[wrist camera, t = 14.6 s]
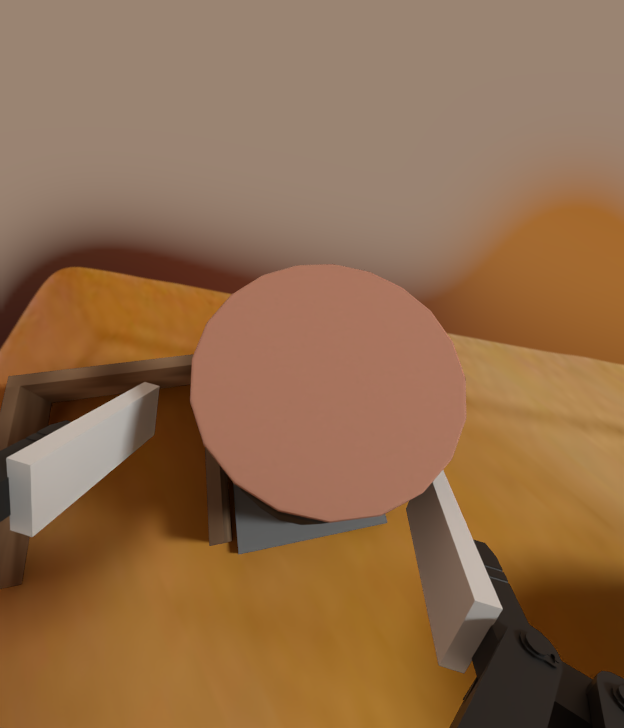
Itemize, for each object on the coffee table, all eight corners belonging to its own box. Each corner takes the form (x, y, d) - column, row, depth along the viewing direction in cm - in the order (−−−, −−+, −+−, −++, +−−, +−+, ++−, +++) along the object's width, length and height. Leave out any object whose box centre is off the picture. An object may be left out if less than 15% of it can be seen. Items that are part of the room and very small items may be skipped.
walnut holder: (220, 371, 32) (212, 352, 29) (232, 540, 26) (224, 543, 23) (41, 394, 30) (8, 376, 26) (6, 587, 24) (-43, 598, 20)
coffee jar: (386, 448, 30) (512, 355, 14) (313, 556, 25) (371, 608, 9) (295, 378, 32) (309, 227, 16) (214, 466, 28) (122, 383, 12)
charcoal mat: (349, 381, 33) (350, 378, 32) (384, 522, 28) (387, 522, 27) (227, 398, 31) (226, 395, 31) (239, 553, 26) (238, 554, 25)
